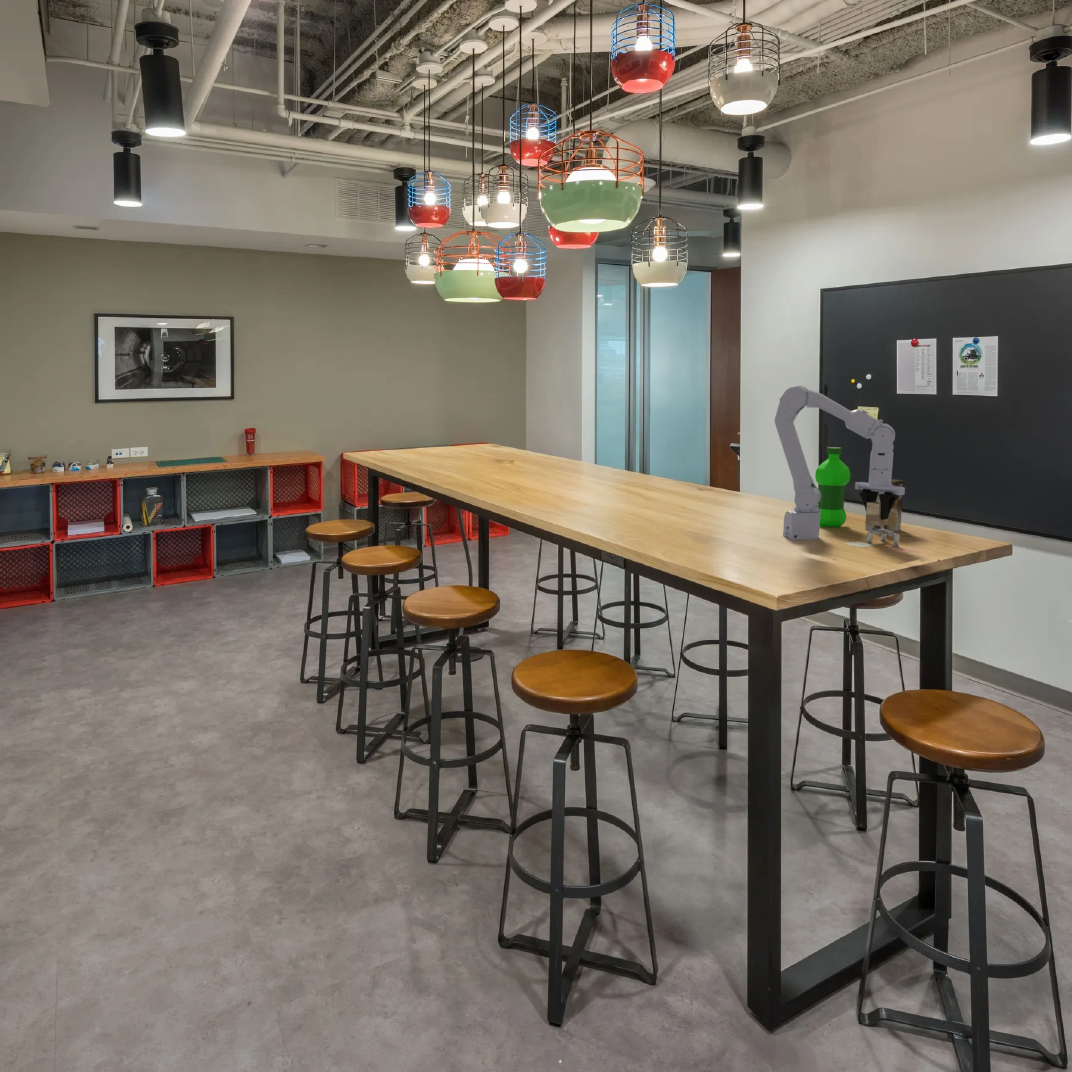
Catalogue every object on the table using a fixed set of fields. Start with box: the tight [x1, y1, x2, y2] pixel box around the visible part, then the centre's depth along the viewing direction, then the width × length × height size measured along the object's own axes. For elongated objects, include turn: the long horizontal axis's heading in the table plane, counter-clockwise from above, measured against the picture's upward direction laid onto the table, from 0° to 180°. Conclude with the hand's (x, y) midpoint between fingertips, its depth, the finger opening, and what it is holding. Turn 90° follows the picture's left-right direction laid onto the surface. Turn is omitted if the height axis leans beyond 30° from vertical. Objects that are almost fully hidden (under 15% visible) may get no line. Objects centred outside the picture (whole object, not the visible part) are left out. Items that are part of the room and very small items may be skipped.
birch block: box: [864, 501, 888, 526], centre depth 225 cm, size 4×4×6 cm
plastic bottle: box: [815, 446, 851, 528], centre depth 252 cm, size 10×10×25 cm
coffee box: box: [864, 478, 905, 532], centre depth 244 cm, size 9×6×16 cm
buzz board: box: [843, 541, 919, 553], centre depth 221 cm, size 16×18×1 cm
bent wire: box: [865, 529, 901, 547], centre depth 223 cm, size 7×9×4 cm
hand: (877, 518), depth 225 cm, fingers closed on birch block, 4 cm apart
